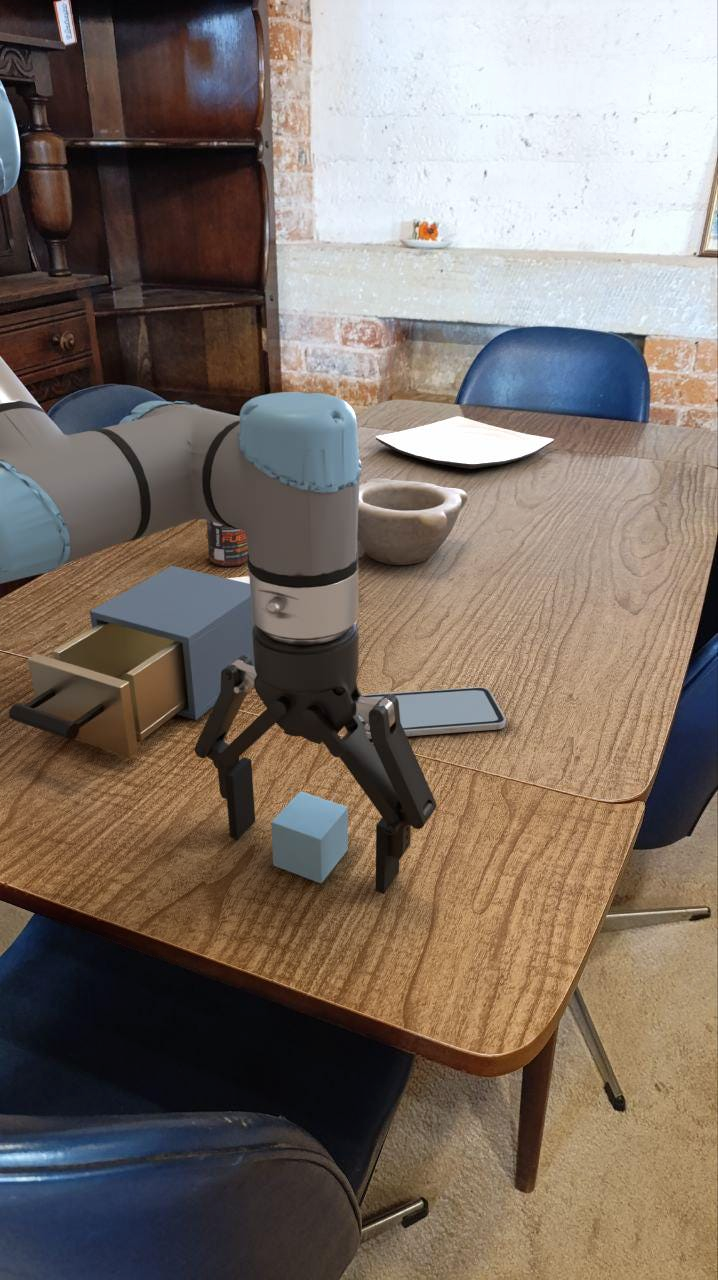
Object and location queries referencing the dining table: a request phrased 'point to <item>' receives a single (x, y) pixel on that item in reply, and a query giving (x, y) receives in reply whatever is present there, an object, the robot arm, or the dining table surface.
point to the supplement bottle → (226, 545)
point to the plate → (464, 443)
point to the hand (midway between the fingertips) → (312, 855)
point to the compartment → (190, 625)
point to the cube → (310, 836)
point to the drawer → (106, 688)
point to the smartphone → (446, 711)
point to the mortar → (405, 519)
